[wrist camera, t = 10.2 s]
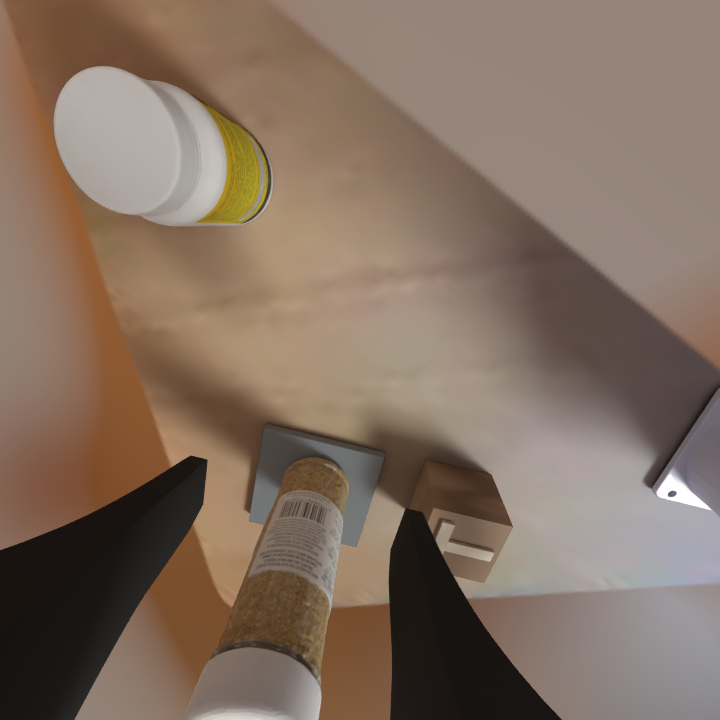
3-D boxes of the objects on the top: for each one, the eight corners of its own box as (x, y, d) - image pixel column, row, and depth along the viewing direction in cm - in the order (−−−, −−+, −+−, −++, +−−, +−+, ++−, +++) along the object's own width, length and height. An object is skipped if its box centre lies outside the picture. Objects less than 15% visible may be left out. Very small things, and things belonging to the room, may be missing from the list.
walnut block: (491, 474, 24) (514, 529, 20) (468, 524, 26) (485, 586, 21) (425, 458, 24) (434, 510, 20) (407, 509, 26) (411, 568, 21)
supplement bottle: (263, 116, 18) (164, 30, 10) (284, 218, 19) (212, 215, 12) (172, 133, 18) (11, 66, 10) (200, 232, 20) (77, 237, 12)
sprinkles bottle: (274, 493, 25) (161, 763, 13) (298, 443, 24) (194, 695, 11) (335, 518, 25) (284, 804, 13) (362, 470, 24) (333, 743, 11)
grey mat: (384, 452, 24) (384, 457, 23) (357, 540, 27) (356, 547, 26) (266, 423, 24) (264, 428, 23) (251, 515, 27) (248, 521, 26)
